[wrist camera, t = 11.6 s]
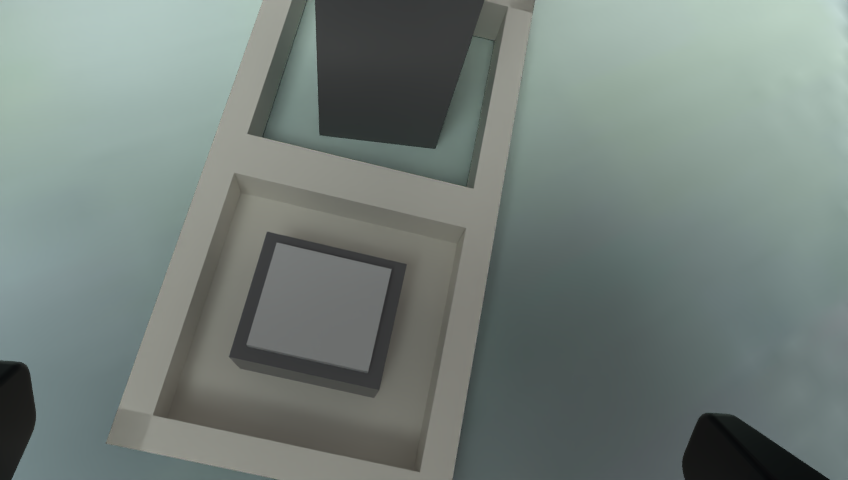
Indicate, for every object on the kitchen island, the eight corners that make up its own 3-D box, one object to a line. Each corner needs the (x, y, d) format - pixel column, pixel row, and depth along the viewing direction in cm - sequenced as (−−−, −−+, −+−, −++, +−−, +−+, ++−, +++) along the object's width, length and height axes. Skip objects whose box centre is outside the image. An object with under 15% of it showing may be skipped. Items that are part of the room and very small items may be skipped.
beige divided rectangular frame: (291, -32, 27) (286, -97, 24) (520, 27, 28) (545, -29, 25) (128, 445, 21) (91, 442, 17) (435, 509, 21) (453, 518, 18)
